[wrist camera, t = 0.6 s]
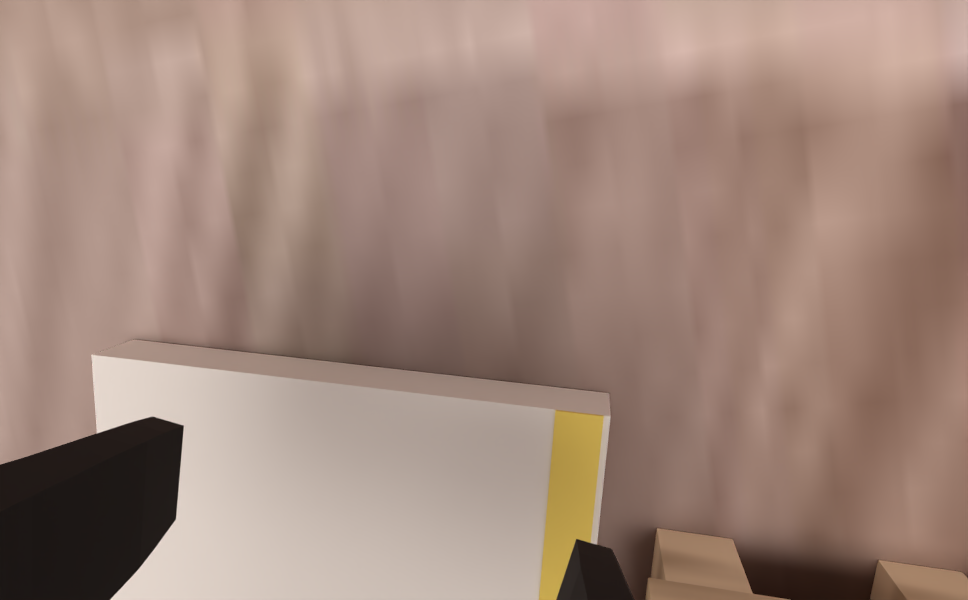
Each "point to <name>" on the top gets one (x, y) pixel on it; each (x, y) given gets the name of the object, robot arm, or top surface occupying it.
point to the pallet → (727, 596)
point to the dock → (358, 477)
